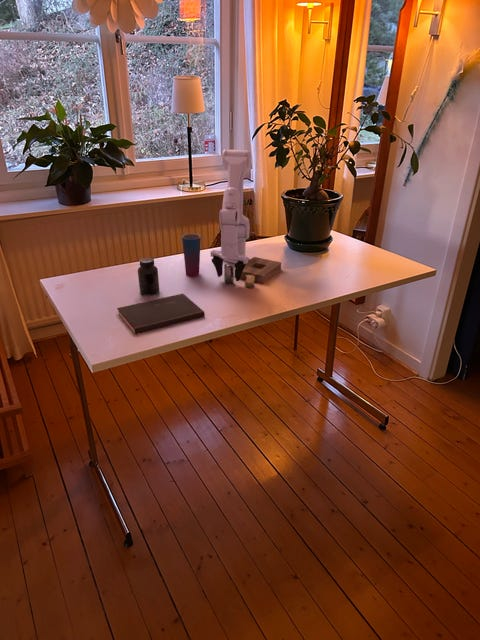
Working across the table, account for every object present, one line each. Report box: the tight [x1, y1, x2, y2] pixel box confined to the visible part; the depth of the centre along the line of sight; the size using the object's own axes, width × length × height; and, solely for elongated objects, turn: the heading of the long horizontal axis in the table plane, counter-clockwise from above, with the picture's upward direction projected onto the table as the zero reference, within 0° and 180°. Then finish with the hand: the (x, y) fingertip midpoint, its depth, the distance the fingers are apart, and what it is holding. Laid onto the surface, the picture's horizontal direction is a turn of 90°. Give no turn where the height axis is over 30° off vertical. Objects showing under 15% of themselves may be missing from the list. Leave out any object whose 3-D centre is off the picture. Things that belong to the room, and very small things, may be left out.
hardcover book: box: [116, 293, 206, 335], centre depth 149 cm, size 16×23×2 cm
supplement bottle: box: [137, 257, 160, 296], centre depth 161 cm, size 7×7×12 cm
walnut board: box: [234, 256, 282, 284], centre depth 180 cm, size 12×16×3 cm
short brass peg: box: [244, 275, 255, 290], centre depth 169 cm, size 3×3×4 cm
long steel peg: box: [223, 263, 235, 286], centre depth 170 cm, size 3×3×7 cm
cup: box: [181, 233, 201, 278], centre depth 175 cm, size 7×7×15 cm
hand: (229, 278), depth 171 cm, fingers open, 7 cm apart
